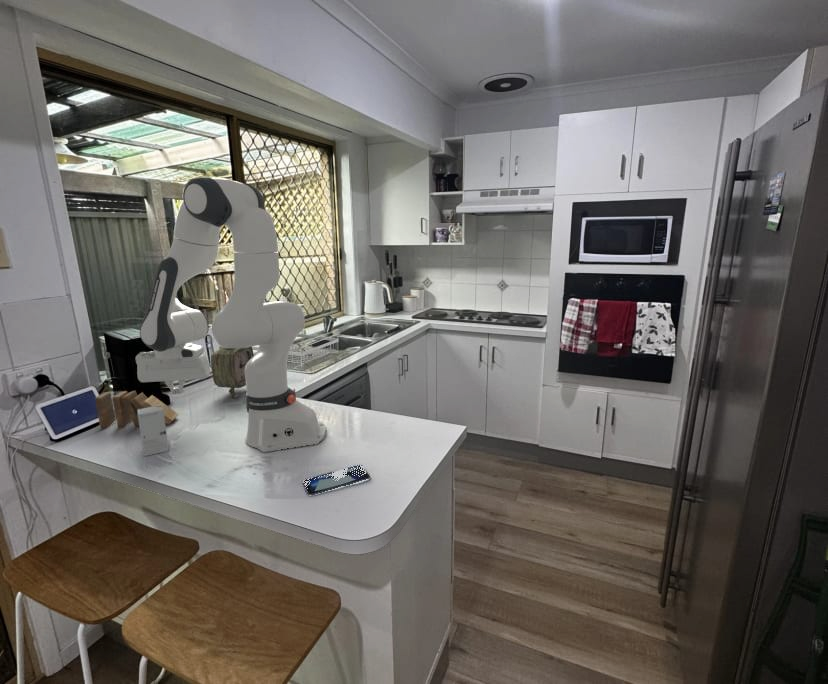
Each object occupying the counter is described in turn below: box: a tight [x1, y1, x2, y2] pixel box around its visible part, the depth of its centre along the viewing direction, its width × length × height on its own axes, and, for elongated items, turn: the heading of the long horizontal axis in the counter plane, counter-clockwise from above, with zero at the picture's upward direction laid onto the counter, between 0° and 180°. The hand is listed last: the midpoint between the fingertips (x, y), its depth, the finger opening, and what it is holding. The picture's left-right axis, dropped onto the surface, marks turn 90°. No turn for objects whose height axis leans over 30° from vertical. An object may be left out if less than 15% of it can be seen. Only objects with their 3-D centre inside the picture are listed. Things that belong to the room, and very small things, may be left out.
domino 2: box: [111, 390, 133, 428], centre depth 134 cm, size 2×5×10 cm, turn 7°
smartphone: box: [301, 464, 371, 496], centre depth 102 cm, size 7×1×15 cm
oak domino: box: [141, 394, 180, 426], centre depth 135 cm, size 2×5×10 cm
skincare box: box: [137, 405, 169, 457], centre depth 116 cm, size 6×4×12 cm
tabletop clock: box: [210, 346, 255, 399], centre depth 158 cm, size 14×9×25 cm, turn 170°
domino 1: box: [94, 391, 117, 429], centre depth 133 cm, size 2×5×10 cm, turn 7°
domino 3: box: [121, 390, 139, 427], centre depth 134 cm, size 2×5×10 cm, turn 6°
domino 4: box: [130, 391, 149, 410], centre depth 135 cm, size 2×5×10 cm
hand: (177, 393), depth 134 cm, fingers closed
